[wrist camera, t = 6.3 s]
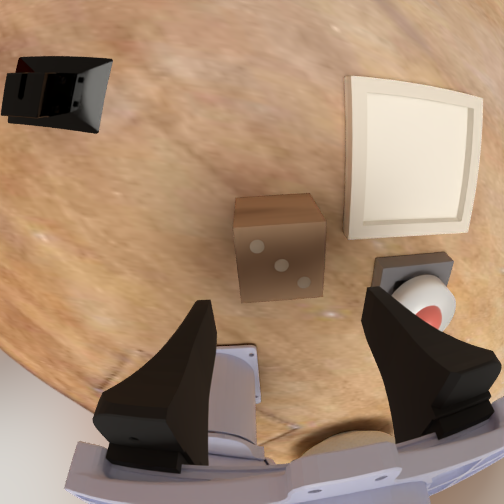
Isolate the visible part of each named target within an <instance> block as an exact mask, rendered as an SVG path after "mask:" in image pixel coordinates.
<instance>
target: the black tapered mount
mask: <svg viewBox="0 0 504 504" xmlns="http://www.w3.org/2000/svg"><path fill="white" fill-rule="evenodd" d="M112 63H113V60H112V59H107V58H93V57H70V56H37V57H20V58H19V60H18V64H17V68H16V73H7V77H6V83H5V88H4V95H3V102H2V110H1V116H8V123H13V124H24V125H34V126H43V127H52V128H60V129H67V130H74V131H81V132H88V133H94V134H97V133H98V132H99V127H100V121H101V115H102V109H103V104H104V98H105V93H106V89H107V84H108V79H109V75H110V71H111V67H112Z"/></svg>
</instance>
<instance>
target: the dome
mask: <svg viewBox="0 0 504 504" xmlns="http://www.w3.org/2000/svg"><path fill="white" fill-rule="evenodd" d="M391 296H392V297H394V298H395V299H396V300H397V301H398V302H400V303H401V304H402V305H403V306H405V307H406V308H407V309H409V310H410V311H411V312H412V313H414V314H415V315H417V316H418V317H419V318H421V319H422V320H424V321H425V322H427V323H428V324H430V325H431V326H433V327H435V328H437V329H438V330H440V331H443V330H444V329H445V328H446V327H447V326H448V324H449V323H450V321H451V319H452V318H453V315H454V312H455V308H456V301H455V298H454V296H453V294H452V293H451V292H450V291H449V289H448V288H447V287H446V286H445V284H444V283H443V282H442V281H441V280H440V279H439V278H438V277H436V276H433V275H420V276H417V277H414V278H412V279H410V280H408V281H406V282H405V283H404V284H402V285H401V286H400V287H399V288H398V289H397V290H396V291H395V292H394V293H393V294H392V295H391Z"/></svg>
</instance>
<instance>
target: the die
mask: <svg viewBox="0 0 504 504" xmlns="http://www.w3.org/2000/svg"><path fill="white" fill-rule="evenodd" d="M326 223H327V222H326V220H325V218H324V216H323V215H322V213H321V211H320V210H319V208H318V206H317V205H316V203H315V201H314V200H313V198H312V196H311V195H310V193H304V194H286V195H271V196H256V197H243V198H236V202H235V211H234V221H233V234H234V243H235V252H236V261H237V269H238V278H239V287H240V295H241V303H251V302H266V301H279V300H292V299H303V298H315V297H323V285H324V269H325V249H326Z"/></svg>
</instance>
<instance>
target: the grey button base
mask: <svg viewBox="0 0 504 504" xmlns="http://www.w3.org/2000/svg"><path fill="white" fill-rule="evenodd" d="M453 263H454V261H453V260H452V259H451V258H450V257H449V256H448V255H447V254H446V253H445V252H439V253H428V254H417V255H405V256H394V257H382V258H376V261H375V267H374V274H373V280H372V286H371V287H376V286H380V287H381V288H382V289H384V290H385V291H386V292H387V293H389V294H390V295H392V294H393V293H394V292H395V291H396V290H397V289H398V288H399V287H400V286H401V285H402V284H404V283H405V282H406V281H408V280H410V279H412V278H414V277H417V276H420V275H433V276H436V277H438V278H439V279H440V280H441V281H442V282H443V283H444V284H445V286H446V287H447V284H448V280H449V277H450V274H451V270H452V266H453Z"/></svg>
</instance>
